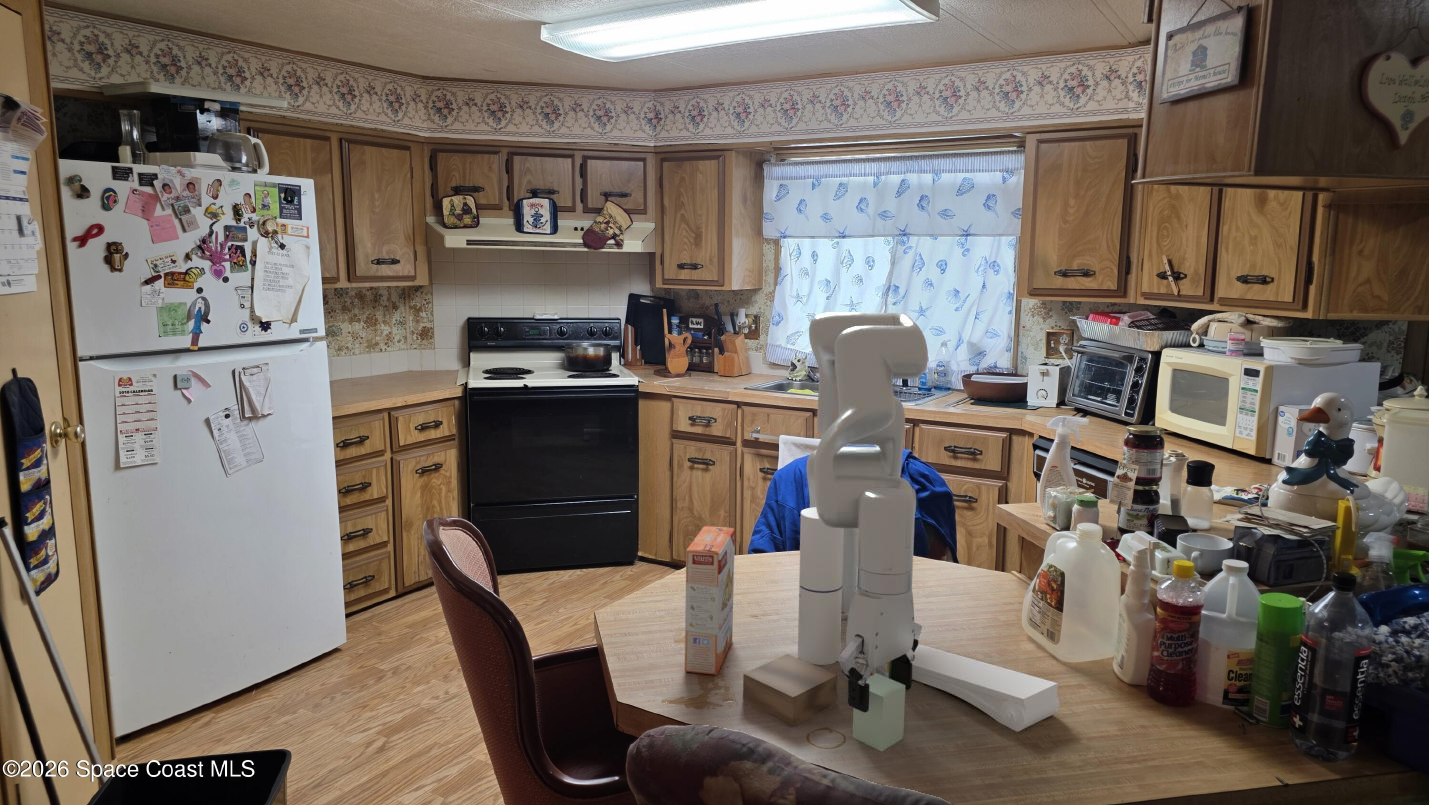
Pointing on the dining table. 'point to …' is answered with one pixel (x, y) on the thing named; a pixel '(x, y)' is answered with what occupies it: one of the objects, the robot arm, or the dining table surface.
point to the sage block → (881, 714)
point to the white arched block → (988, 687)
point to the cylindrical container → (819, 590)
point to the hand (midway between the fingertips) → (880, 697)
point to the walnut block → (789, 690)
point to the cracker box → (709, 599)
